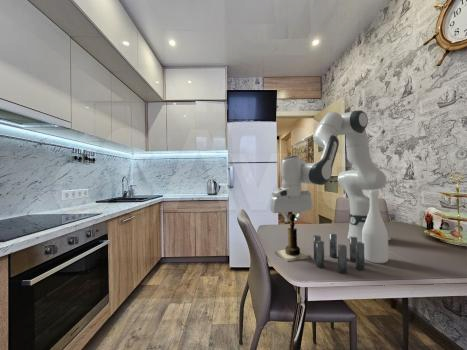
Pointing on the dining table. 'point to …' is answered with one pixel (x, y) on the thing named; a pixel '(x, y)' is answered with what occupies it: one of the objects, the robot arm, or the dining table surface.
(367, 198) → the robot arm
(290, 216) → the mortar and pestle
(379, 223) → the wine bottle
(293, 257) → the birch board
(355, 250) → the capsules
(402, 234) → the dining table surface
